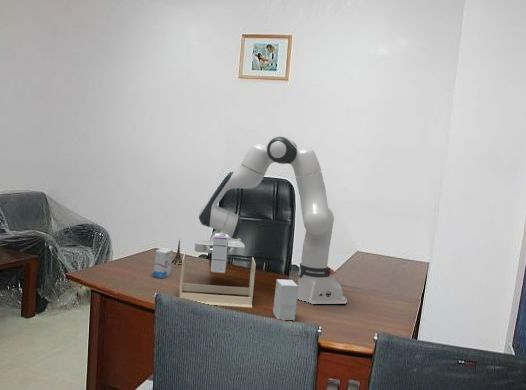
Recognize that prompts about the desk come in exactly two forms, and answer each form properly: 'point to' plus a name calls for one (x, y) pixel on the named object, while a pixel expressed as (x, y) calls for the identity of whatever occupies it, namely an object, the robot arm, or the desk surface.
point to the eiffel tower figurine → (177, 256)
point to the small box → (285, 299)
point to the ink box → (162, 263)
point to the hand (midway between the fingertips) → (220, 252)
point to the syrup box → (219, 253)
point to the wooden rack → (218, 291)
